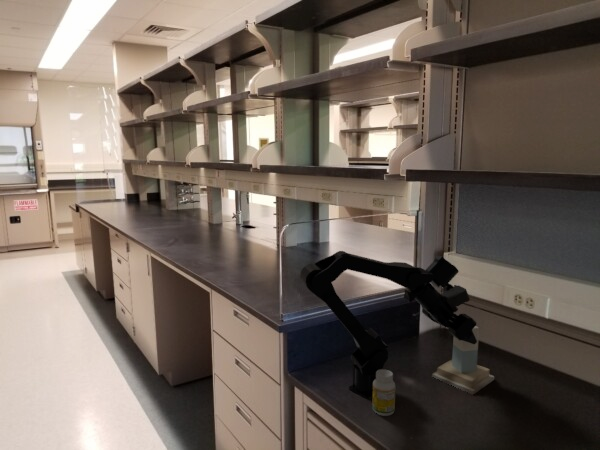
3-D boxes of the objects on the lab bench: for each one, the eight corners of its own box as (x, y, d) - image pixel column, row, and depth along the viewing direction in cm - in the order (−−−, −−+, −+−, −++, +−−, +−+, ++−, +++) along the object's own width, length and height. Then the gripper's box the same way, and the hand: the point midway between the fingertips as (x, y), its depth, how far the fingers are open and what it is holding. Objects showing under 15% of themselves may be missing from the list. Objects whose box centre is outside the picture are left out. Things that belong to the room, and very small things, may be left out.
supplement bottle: (392, 418, 101) (393, 380, 99) (369, 413, 103) (370, 376, 101) (396, 406, 106) (397, 370, 104) (374, 402, 108) (375, 366, 106)
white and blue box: (461, 373, 116) (463, 329, 115) (451, 365, 121) (454, 323, 119) (476, 371, 117) (479, 327, 115) (466, 363, 122) (469, 321, 120)
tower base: (431, 377, 120) (432, 367, 120) (454, 364, 128) (454, 354, 127) (472, 394, 111) (473, 384, 111) (494, 379, 119) (494, 369, 118)
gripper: (471, 287, 105) (508, 327, 109) (433, 269, 123) (466, 303, 127) (440, 320, 105) (478, 359, 109) (407, 297, 123) (440, 331, 127)
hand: (465, 336), depth 118 cm, fingers open, 9 cm apart
